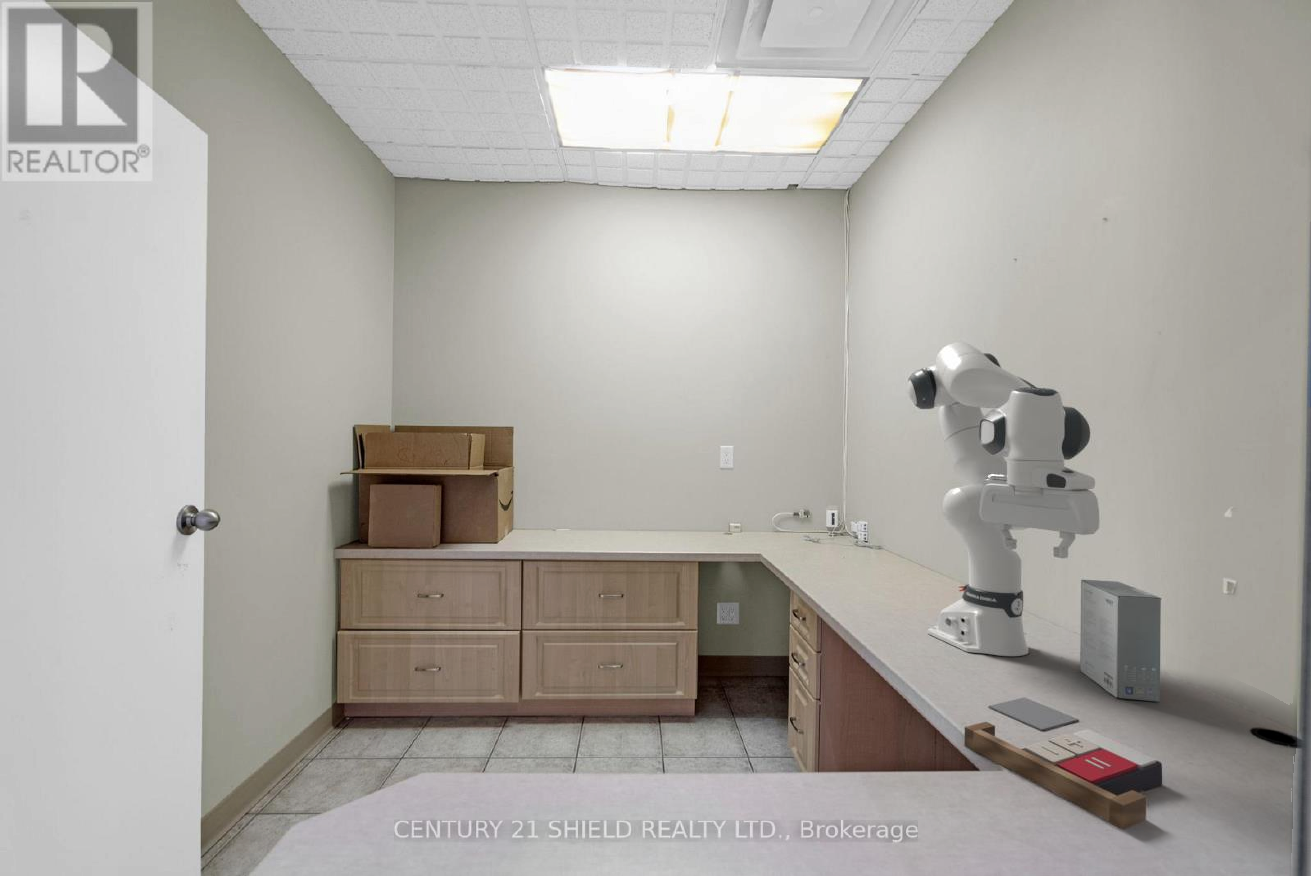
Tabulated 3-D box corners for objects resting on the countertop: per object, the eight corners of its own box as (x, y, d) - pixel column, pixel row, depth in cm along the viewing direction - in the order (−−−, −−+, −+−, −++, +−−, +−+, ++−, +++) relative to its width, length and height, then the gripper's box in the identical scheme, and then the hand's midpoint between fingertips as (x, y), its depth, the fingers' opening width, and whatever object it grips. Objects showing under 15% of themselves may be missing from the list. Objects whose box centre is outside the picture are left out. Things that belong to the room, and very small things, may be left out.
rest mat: (988, 707, 114) (988, 705, 114) (1024, 698, 118) (1024, 697, 118) (1041, 731, 105) (1041, 729, 105) (1078, 720, 109) (1078, 719, 109)
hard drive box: (1162, 703, 117) (1163, 598, 117) (1116, 699, 118) (1117, 595, 118) (1118, 673, 132) (1119, 580, 132) (1078, 670, 134) (1079, 578, 134)
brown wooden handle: (964, 745, 99) (964, 726, 99) (985, 739, 101) (986, 721, 101) (1123, 829, 78) (1123, 805, 78) (1146, 819, 80) (1146, 796, 80)
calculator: (1018, 744, 93) (1086, 724, 99) (1019, 772, 93) (1086, 750, 99) (1092, 782, 83) (1163, 757, 88) (1093, 814, 83) (1164, 787, 89)
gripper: (972, 473, 120) (971, 544, 120) (1081, 480, 101) (1081, 564, 101) (994, 473, 122) (993, 542, 122) (1105, 479, 104) (1104, 561, 104)
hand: (1034, 552), depth 111 cm, fingers open, 8 cm apart
